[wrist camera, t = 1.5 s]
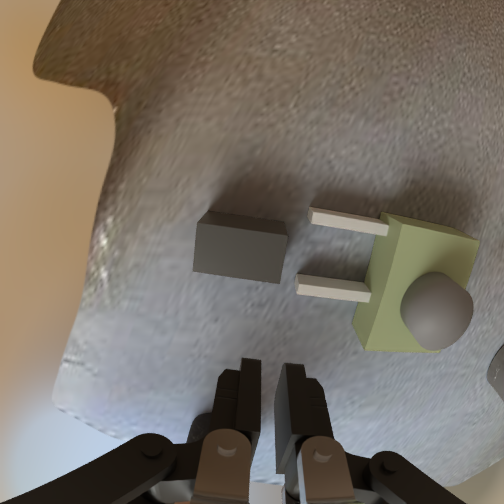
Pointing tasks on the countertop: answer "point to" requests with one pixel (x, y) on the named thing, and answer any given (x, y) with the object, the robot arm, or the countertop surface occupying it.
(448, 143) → the countertop surface
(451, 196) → the countertop surface
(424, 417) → the countertop surface
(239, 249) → the dark grey box
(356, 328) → the two-prong plug
